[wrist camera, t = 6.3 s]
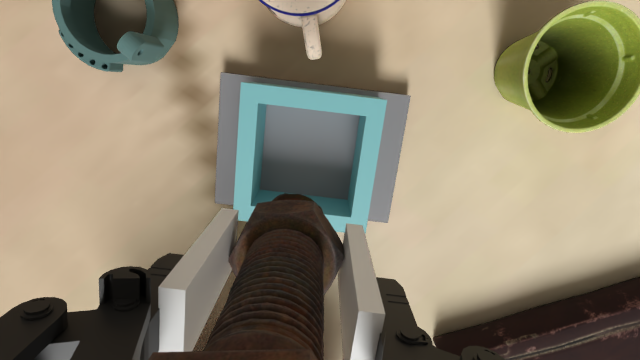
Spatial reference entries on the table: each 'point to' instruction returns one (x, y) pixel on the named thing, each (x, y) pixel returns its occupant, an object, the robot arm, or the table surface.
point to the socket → (309, 146)
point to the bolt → (276, 286)
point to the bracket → (136, 49)
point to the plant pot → (576, 67)
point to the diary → (562, 329)
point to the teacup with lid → (306, 18)
